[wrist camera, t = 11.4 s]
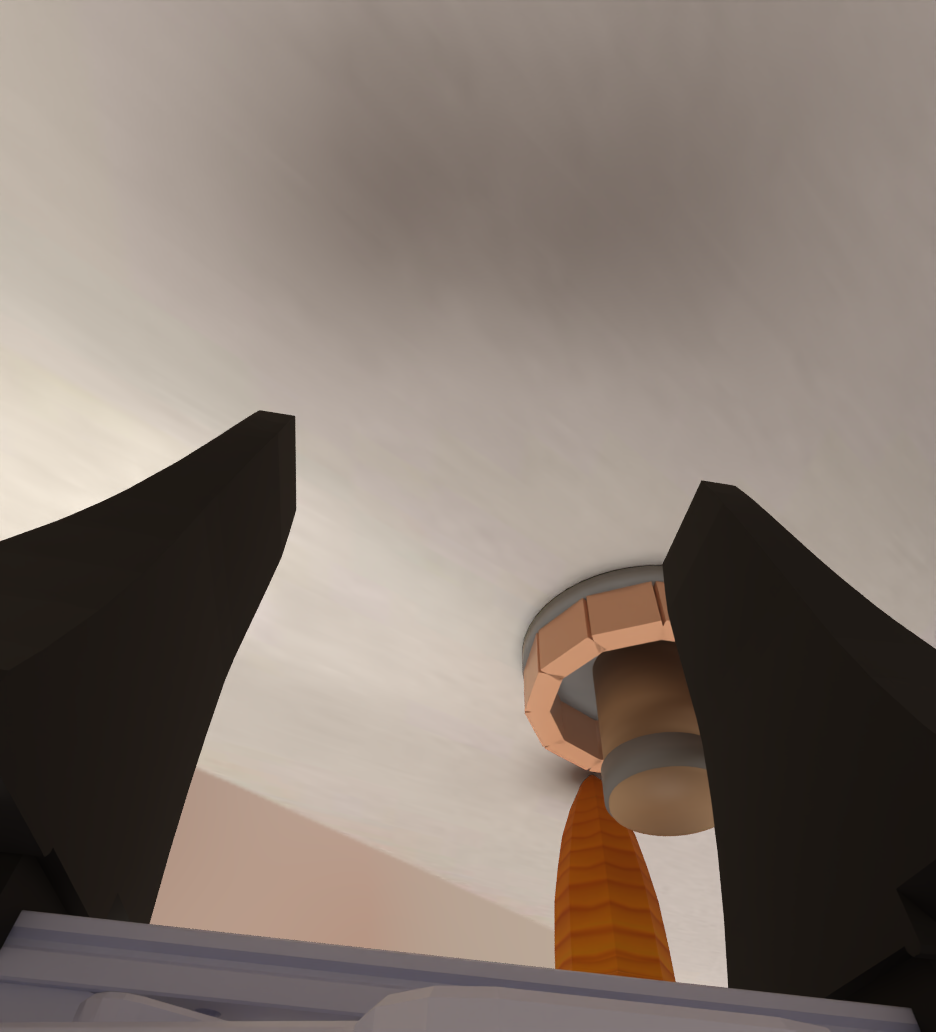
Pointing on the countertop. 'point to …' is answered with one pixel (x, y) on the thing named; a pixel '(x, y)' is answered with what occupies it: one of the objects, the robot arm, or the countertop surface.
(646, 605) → the coaster
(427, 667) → the countertop surface
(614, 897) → the carrot
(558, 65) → the countertop surface
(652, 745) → the walnut pepper mill
